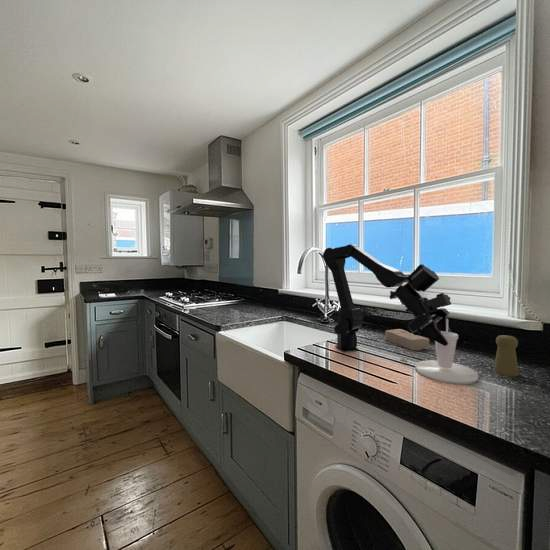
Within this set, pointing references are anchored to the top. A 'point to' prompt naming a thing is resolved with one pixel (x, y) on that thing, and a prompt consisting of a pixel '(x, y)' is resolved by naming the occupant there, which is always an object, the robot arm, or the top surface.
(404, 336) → the brick
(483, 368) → the top surface
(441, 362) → the smoothie
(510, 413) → the top surface
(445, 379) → the plate
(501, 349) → the cork
